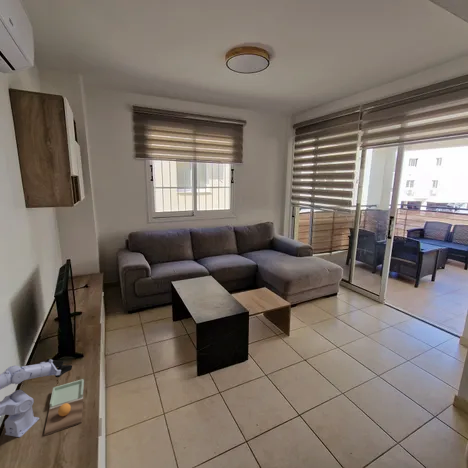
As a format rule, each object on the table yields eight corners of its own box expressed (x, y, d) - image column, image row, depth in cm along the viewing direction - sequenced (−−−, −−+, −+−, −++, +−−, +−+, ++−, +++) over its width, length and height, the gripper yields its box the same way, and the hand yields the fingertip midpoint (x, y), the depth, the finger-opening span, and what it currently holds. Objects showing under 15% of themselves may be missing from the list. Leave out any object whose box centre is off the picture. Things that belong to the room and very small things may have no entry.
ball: (65, 419, 119) (64, 410, 118) (56, 418, 120) (54, 408, 119) (73, 410, 124) (72, 401, 123) (64, 409, 125) (63, 400, 124)
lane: (81, 423, 119) (81, 421, 119) (44, 435, 113) (44, 433, 112) (84, 383, 143) (84, 381, 142) (53, 391, 136) (53, 390, 136)
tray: (82, 397, 132) (82, 394, 132) (50, 407, 126) (49, 404, 125) (84, 381, 142) (83, 378, 142) (53, 390, 136) (53, 387, 136)
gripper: (49, 365, 118) (77, 360, 130) (32, 357, 124) (60, 353, 136) (44, 382, 116) (73, 376, 128) (27, 373, 123) (56, 367, 135)
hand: (66, 365), depth 132 cm, fingers open, 7 cm apart
